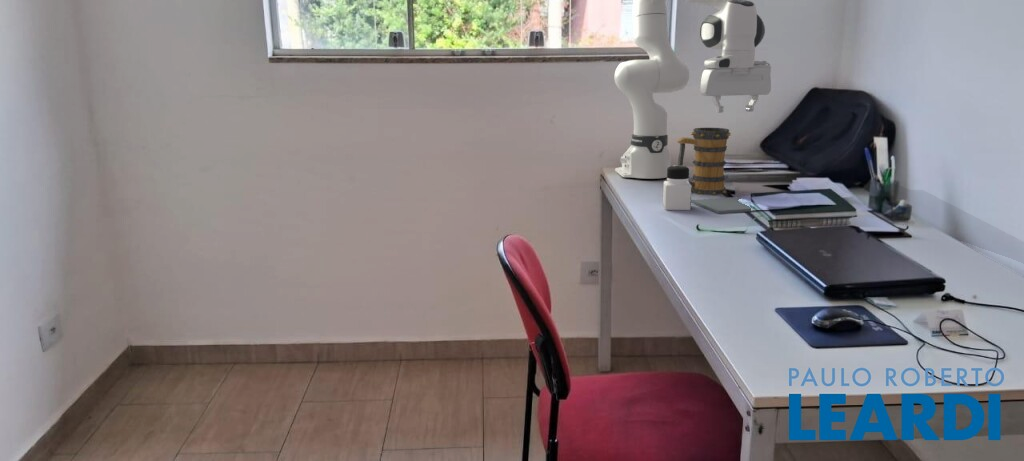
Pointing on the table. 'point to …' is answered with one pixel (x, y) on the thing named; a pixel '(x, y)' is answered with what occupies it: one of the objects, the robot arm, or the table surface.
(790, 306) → the table surface
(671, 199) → the medicine bottle
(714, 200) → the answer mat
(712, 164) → the mug
